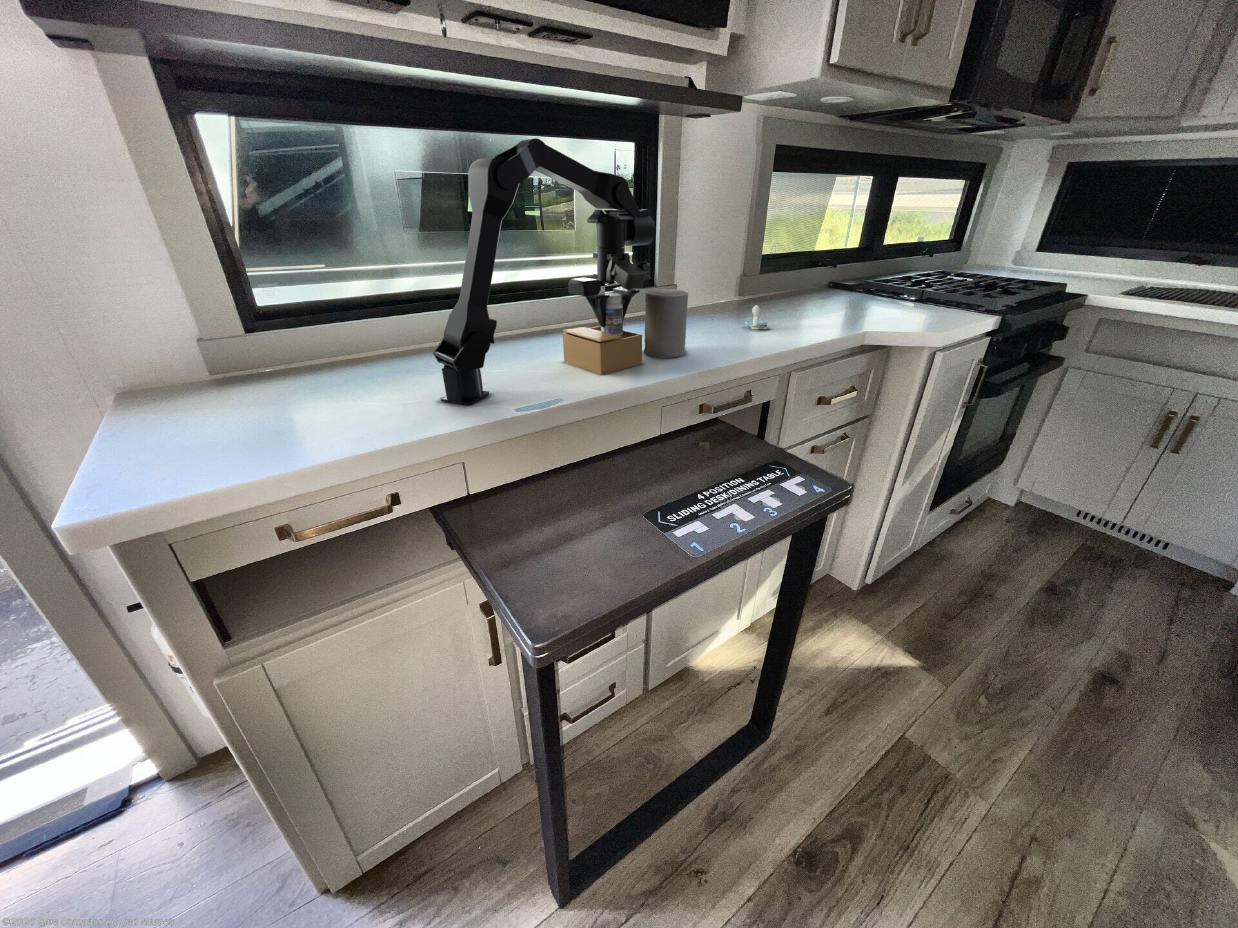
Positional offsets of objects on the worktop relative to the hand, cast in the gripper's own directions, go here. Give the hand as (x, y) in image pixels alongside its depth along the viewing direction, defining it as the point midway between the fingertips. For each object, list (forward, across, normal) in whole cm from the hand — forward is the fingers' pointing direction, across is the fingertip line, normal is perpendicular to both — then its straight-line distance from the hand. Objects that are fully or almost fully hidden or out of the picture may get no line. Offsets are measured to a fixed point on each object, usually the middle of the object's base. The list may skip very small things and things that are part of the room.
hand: (611, 325), depth 110 cm
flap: (+1, -6, 0) cm, 6 cm away
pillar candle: (+8, +13, -4) cm, 16 cm away
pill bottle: (+2, 0, 0) cm, 2 cm away
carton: (+8, -3, 0) cm, 8 cm away
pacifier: (+8, +51, -4) cm, 52 cm away
